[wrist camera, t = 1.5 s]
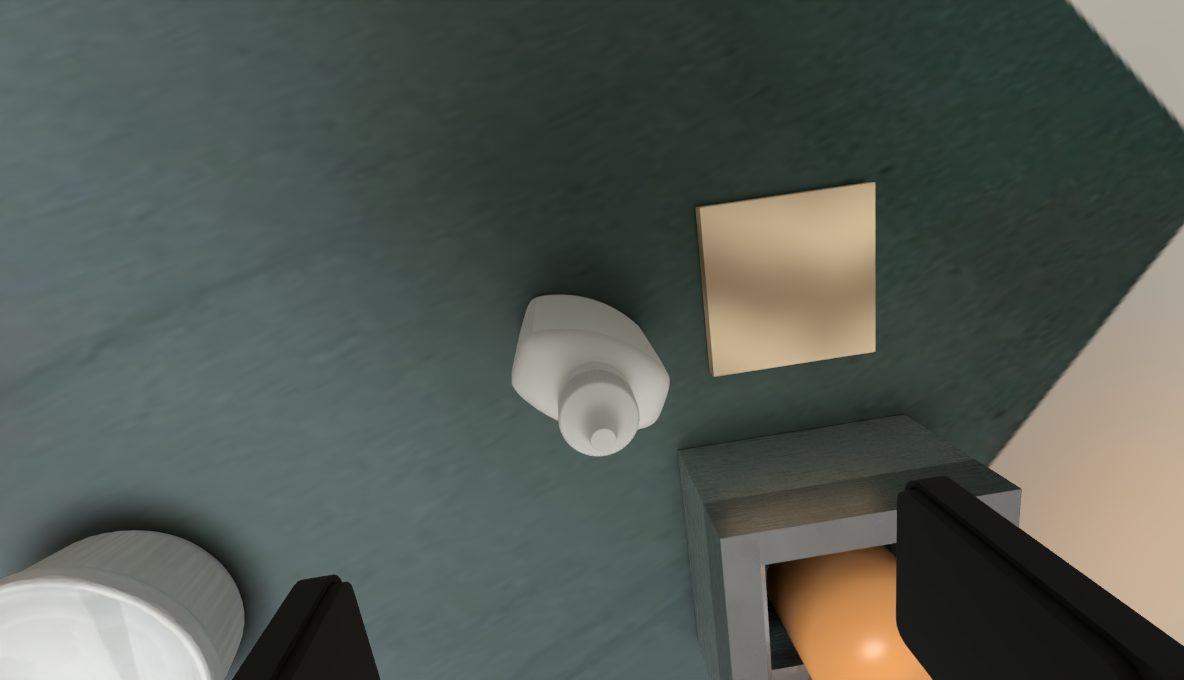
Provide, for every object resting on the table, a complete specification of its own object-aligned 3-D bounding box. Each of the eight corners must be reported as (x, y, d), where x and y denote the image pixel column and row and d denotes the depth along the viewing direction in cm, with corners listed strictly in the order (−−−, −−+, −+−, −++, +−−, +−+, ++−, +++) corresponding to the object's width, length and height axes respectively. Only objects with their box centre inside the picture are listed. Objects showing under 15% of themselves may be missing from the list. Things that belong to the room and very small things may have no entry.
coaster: (695, 207, 25) (699, 207, 25) (865, 182, 26) (875, 182, 25) (709, 371, 27) (713, 376, 27) (866, 347, 28) (875, 351, 27)
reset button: (762, 531, 26) (816, 618, 21) (886, 511, 26) (971, 592, 21) (769, 635, 28) (820, 740, 22) (886, 615, 28) (965, 715, 22)
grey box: (677, 450, 28) (720, 538, 21) (907, 413, 29) (1026, 488, 22) (697, 639, 32) (740, 771, 24) (904, 604, 32) (1007, 724, 25)
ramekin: (313, 608, 30) (263, 694, 24) (169, 723, 31) (94, 828, 26) (138, 465, 27) (42, 529, 22) (-12, 597, 28) (-136, 687, 23)
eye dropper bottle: (572, 257, 26) (590, 312, 14) (653, 340, 27) (730, 454, 15) (506, 322, 26) (470, 426, 15) (588, 400, 27) (615, 553, 16)
